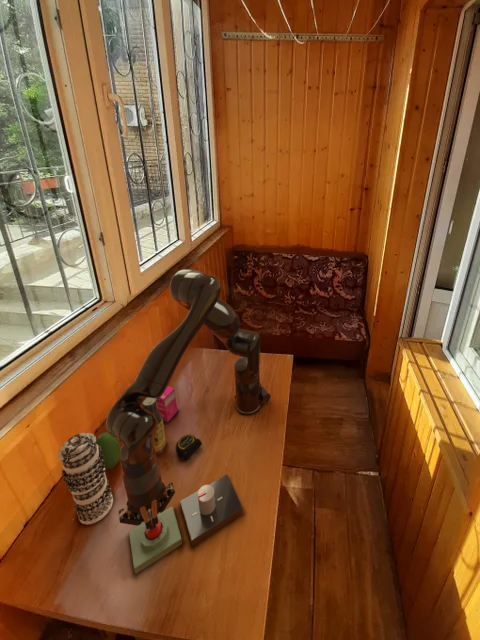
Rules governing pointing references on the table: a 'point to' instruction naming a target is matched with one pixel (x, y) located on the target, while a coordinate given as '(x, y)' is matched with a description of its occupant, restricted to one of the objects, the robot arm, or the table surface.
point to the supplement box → (167, 404)
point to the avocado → (109, 449)
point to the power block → (154, 541)
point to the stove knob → (206, 499)
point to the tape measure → (187, 446)
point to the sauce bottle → (160, 434)
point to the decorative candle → (86, 477)
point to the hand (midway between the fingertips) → (152, 525)
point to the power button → (154, 531)
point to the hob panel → (222, 514)
